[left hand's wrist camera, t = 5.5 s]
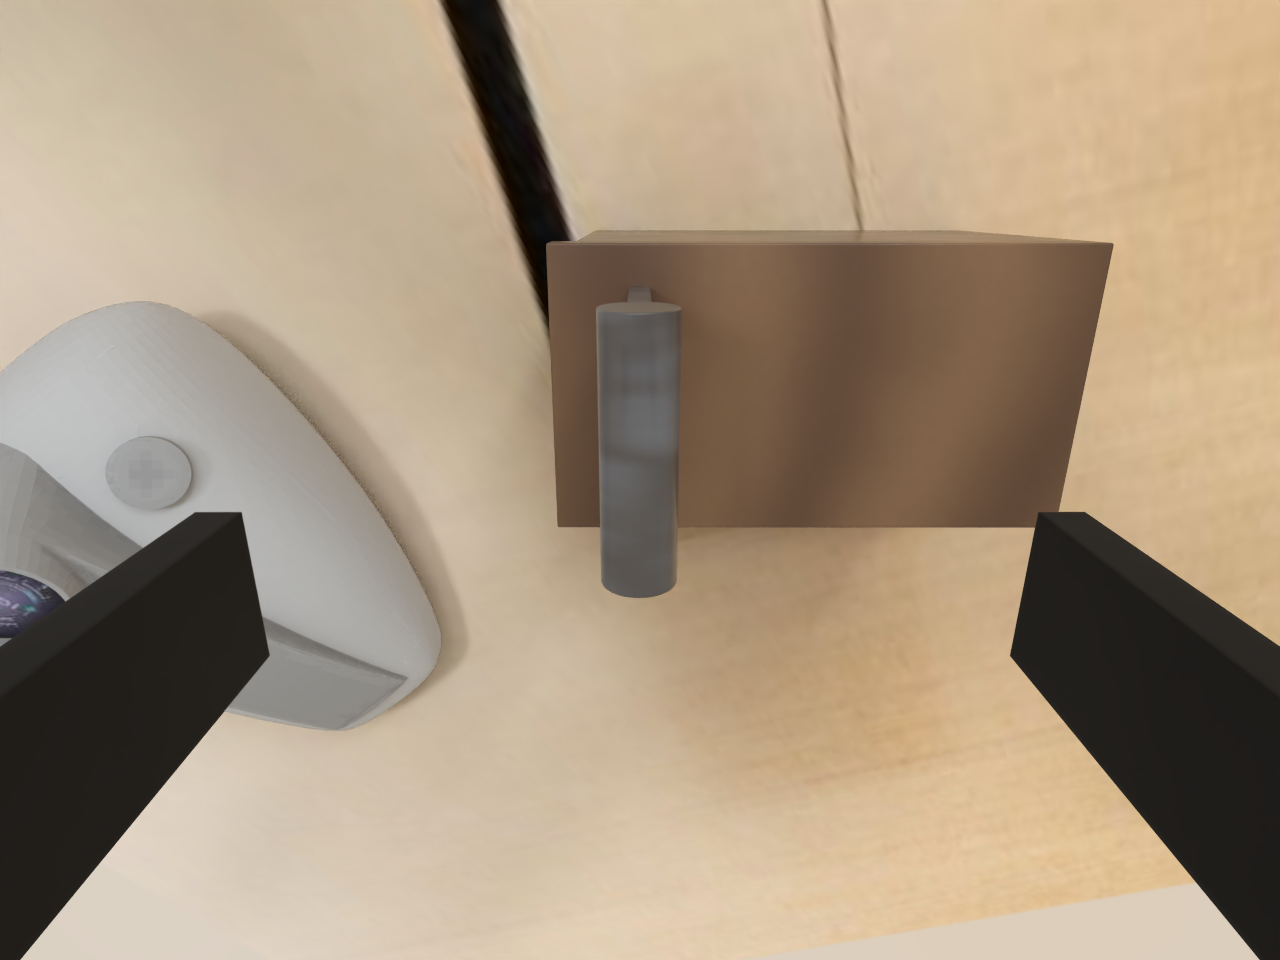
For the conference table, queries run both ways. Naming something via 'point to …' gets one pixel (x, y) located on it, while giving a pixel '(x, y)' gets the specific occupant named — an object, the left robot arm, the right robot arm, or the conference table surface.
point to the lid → (812, 386)
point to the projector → (204, 505)
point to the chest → (806, 236)
